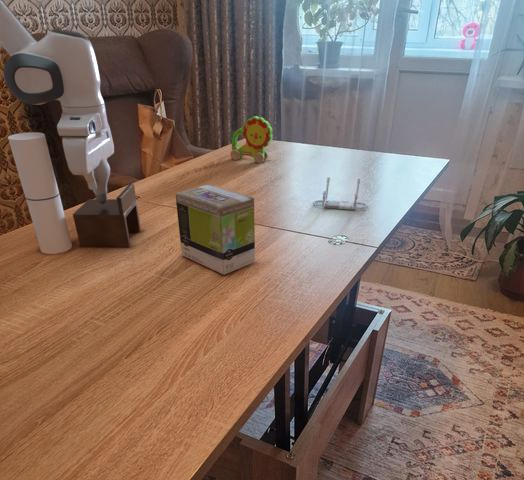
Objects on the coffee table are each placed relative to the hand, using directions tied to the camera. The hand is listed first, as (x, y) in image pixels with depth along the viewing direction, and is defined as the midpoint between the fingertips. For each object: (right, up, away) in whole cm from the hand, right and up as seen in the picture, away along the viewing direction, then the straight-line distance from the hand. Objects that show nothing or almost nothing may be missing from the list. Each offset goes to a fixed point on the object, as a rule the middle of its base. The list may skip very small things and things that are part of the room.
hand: (98, 184), depth 112 cm
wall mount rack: (+61, +4, +28) cm, 67 cm away
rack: (+1, -11, +8) cm, 13 cm away
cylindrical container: (-11, -14, +3) cm, 18 cm away
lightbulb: (0, -4, +3) cm, 5 cm away
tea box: (+28, -18, -2) cm, 33 cm away
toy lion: (+34, +32, +68) cm, 83 cm away
